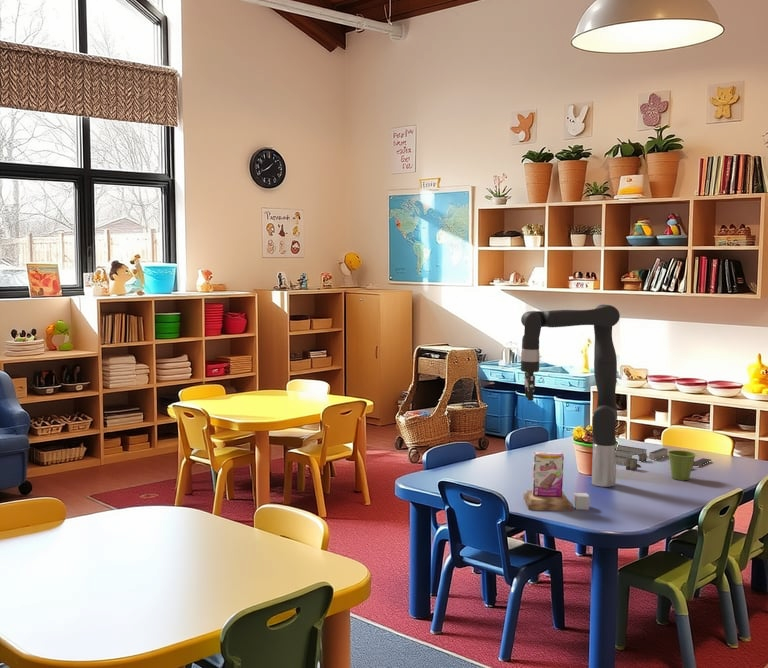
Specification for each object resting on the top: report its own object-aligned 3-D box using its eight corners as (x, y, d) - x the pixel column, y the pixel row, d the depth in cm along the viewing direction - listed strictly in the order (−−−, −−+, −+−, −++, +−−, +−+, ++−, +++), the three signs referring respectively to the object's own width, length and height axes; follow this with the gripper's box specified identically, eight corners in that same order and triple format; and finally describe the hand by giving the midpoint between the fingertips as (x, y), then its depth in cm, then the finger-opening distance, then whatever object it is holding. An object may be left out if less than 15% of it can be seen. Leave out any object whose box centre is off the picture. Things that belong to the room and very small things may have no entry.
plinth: (564, 499, 347) (564, 490, 347) (571, 510, 331) (571, 501, 331) (523, 498, 348) (523, 489, 347) (528, 509, 332) (528, 500, 331)
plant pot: (671, 481, 377) (672, 455, 376) (663, 475, 389) (664, 449, 388) (699, 482, 376) (700, 456, 376) (690, 475, 388) (691, 450, 387)
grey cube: (586, 505, 338) (587, 493, 338) (589, 509, 333) (589, 496, 333) (573, 505, 338) (573, 492, 338) (575, 509, 333) (576, 496, 333)
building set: (580, 462, 413) (580, 451, 413) (622, 448, 445) (622, 438, 445) (673, 478, 384) (673, 467, 383) (711, 462, 416) (711, 452, 415)
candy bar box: (533, 496, 337) (534, 454, 336) (531, 493, 342) (533, 451, 341) (562, 497, 336) (564, 455, 335) (561, 494, 341) (562, 452, 340)
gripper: (541, 362, 358) (540, 401, 359) (537, 358, 372) (536, 396, 373) (523, 361, 358) (522, 401, 359) (519, 357, 372) (518, 396, 374)
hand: (529, 398), depth 366 cm, fingers open, 8 cm apart
